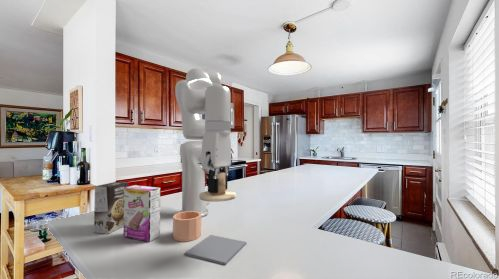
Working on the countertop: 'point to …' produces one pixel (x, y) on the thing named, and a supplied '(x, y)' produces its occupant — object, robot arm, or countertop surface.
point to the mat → (216, 249)
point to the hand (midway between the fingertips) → (217, 190)
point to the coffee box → (109, 207)
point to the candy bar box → (142, 212)
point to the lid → (222, 193)
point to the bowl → (187, 226)
